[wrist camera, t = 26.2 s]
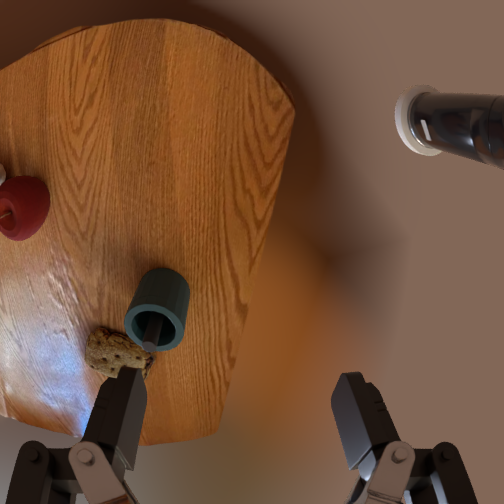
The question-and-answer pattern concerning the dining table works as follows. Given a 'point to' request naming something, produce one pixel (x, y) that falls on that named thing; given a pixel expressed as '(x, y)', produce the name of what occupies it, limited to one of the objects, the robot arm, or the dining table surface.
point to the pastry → (116, 354)
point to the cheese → (2, 174)
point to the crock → (159, 307)
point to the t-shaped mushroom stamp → (152, 331)
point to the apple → (23, 206)
